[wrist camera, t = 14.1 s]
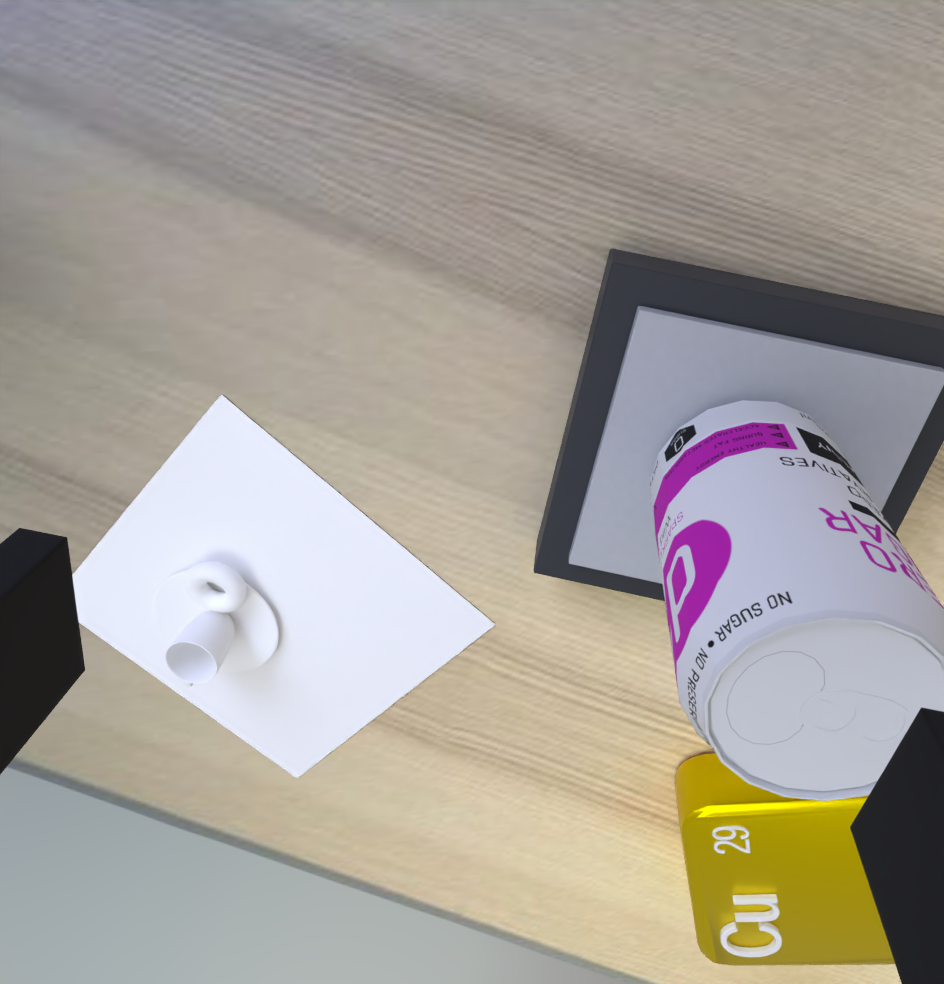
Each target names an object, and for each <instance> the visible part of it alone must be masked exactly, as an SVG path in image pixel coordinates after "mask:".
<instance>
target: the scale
mask: <svg viewBox="0 0 944 984" xmlns="http://www.w3.org/2000/svg"><path fill="white" fill-rule="evenodd" d="M742 400H747V401H767V402H779V403H781V404H784V405H786V406H789V407H791V408H793V409H796V410H798V411H801V412H803V413H806V414H808V415H809V416H810V417H812V418H813V419H814V420H815V421H816V422H817V423H818V424H819V425H820V426H821V427H822V428H823V429H824V430H825V431H826V432H827V433H828V434H829V435H830V436H831V437H832V439H833V440H834V442H835V443H836V445H837V446H838V448H839V449H840V451H841V452H842V454H843V455H844V457H845V458H846V460H847V461H848V463H849V465H850V466H851V468H852V469H853V471H854V472H855V474H856V475H857V477H858V478H859V480H860V481H861V483H862V484H863V486H864V487H865V489H866V490H867V492H868V493H869V495H870V496H871V498H872V500H873V501H874V503H875V504H876V506H877V507H878V509H879V510H880V512H881V513H882V515H883V516H884V518H885V519H886V521H887V522H888V524H889V525H890V527H891V528H892V530H893V532H894V533H895V534H896V532H897V530H898V528H899V526H900V525H901V523H902V521H903V519H904V517H905V515H906V513H907V511H908V509H909V507H910V505H911V503H912V501H913V499H914V497H915V495H916V493H917V491H918V489H919V488H920V486H921V484H922V482H923V480H924V478H925V476H926V474H927V472H928V470H929V468H930V466H931V464H932V462H933V460H934V458H935V456H936V454H937V452H938V451H939V449H940V447H941V445H942V443H943V441H944V316H941V315H936V314H931V313H926V312H921V311H917V310H912V309H907V308H902V307H897V306H892V305H887V304H882V303H877V302H872V301H867V300H862V299H857V298H852V297H848V296H843V295H838V294H833V293H828V292H823V291H818V290H813V289H808V288H803V287H798V286H793V285H788V284H783V283H779V282H774V281H769V280H764V279H759V278H754V277H749V276H744V275H739V274H734V273H729V272H724V271H719V270H714V269H710V268H705V267H700V266H695V265H690V264H685V263H680V262H675V261H670V260H665V259H660V258H655V257H650V256H646V255H641V254H636V253H631V252H626V251H621V250H616V249H611V250H610V252H609V256H608V260H607V264H606V268H605V272H604V276H603V280H602V284H601V288H600V292H599V296H598V300H597V304H596V308H595V312H594V316H593V320H592V324H591V328H590V332H589V336H588V340H587V344H586V348H585V352H584V356H583V360H582V364H581V368H580V372H579V376H578V380H577V384H576V388H575V392H574V396H573V400H572V404H571V408H570V412H569V416H568V420H567V424H566V428H565V432H564V436H563V440H562V444H561V448H560V452H559V456H558V460H557V464H556V468H555V472H554V476H553V480H552V484H551V488H550V492H549V496H548V500H547V504H546V508H545V512H544V515H543V519H542V523H541V527H540V531H539V535H538V539H537V545H536V554H535V563H534V573H538V574H543V575H547V576H552V577H557V578H561V579H566V580H570V581H575V582H580V583H584V584H589V585H593V586H598V587H603V588H607V589H612V590H616V591H621V592H626V593H630V594H635V595H639V596H644V597H649V598H653V599H658V600H663V601H665V597H664V590H663V583H662V577H661V570H660V563H659V556H658V549H657V542H656V535H655V528H654V521H653V514H652V506H651V492H650V478H651V475H652V472H653V469H654V466H655V463H656V460H657V457H658V454H659V452H660V451H661V449H662V448H663V447H664V446H665V444H666V443H667V442H668V441H669V440H670V438H671V437H672V436H673V435H674V433H675V432H676V431H677V430H678V428H679V427H681V426H683V425H684V424H686V423H687V422H689V421H690V420H692V419H694V418H695V417H697V416H698V415H700V414H702V413H703V412H705V411H706V410H708V409H711V408H715V407H719V406H723V405H726V404H730V403H734V402H738V401H742Z"/></svg>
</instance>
